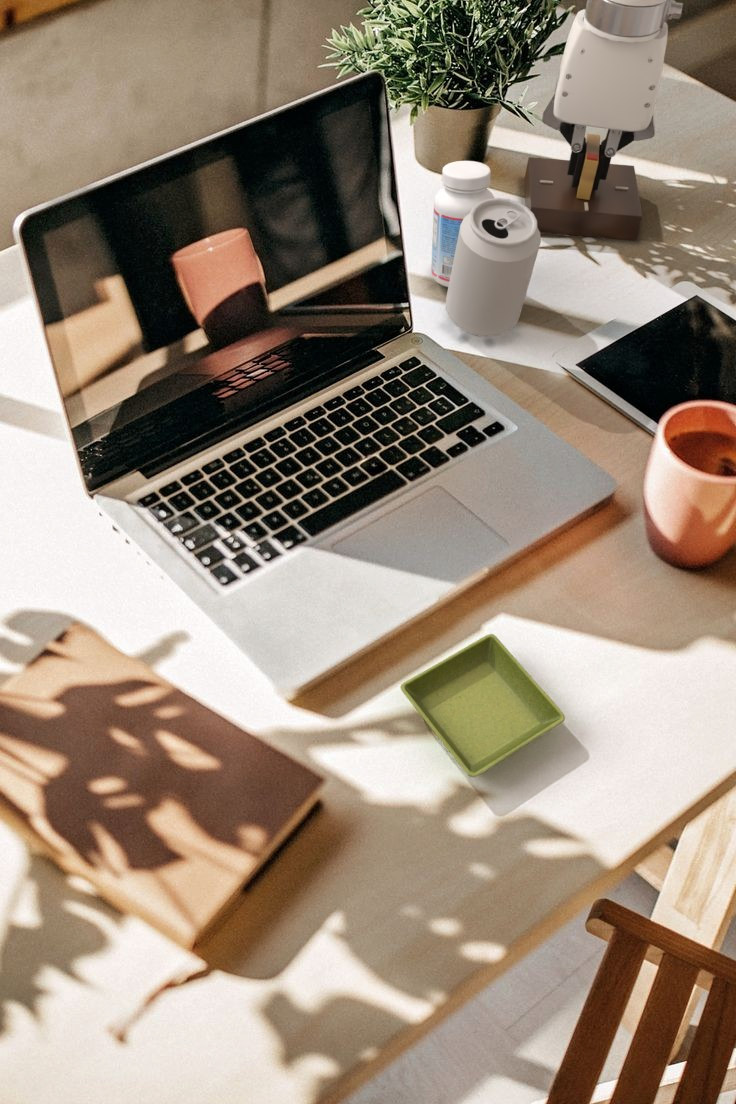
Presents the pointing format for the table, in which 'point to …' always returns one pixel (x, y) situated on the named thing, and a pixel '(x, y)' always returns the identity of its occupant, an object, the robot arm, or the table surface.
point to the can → (492, 267)
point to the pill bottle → (455, 211)
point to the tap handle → (589, 167)
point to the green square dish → (482, 704)
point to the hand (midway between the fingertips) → (585, 181)
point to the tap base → (582, 201)
